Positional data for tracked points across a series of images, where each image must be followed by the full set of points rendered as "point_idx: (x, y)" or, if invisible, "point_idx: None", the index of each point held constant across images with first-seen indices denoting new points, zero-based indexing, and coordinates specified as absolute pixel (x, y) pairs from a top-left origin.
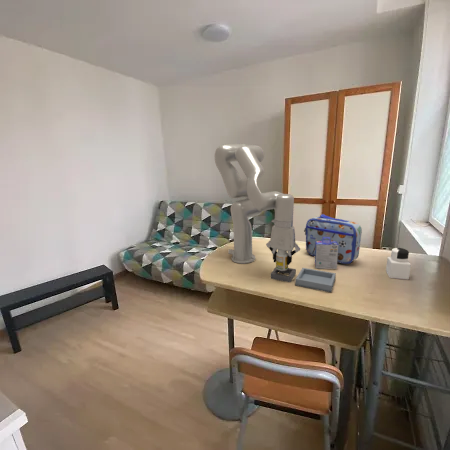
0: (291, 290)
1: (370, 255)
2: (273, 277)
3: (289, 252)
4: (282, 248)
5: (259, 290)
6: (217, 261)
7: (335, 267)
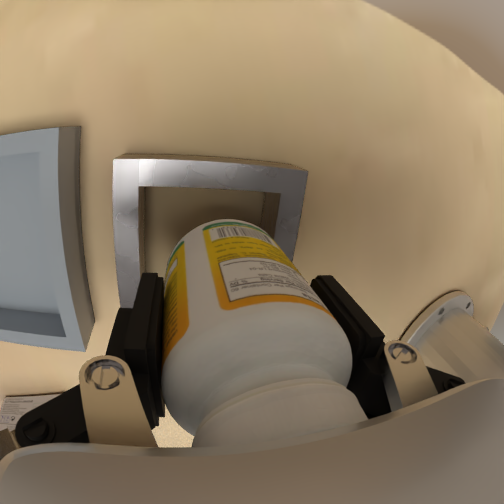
0: (98, 43)
1: None
2: (270, 163)
3: (108, 425)
4: (305, 484)
5: None
6: (500, 270)
7: (5, 402)
